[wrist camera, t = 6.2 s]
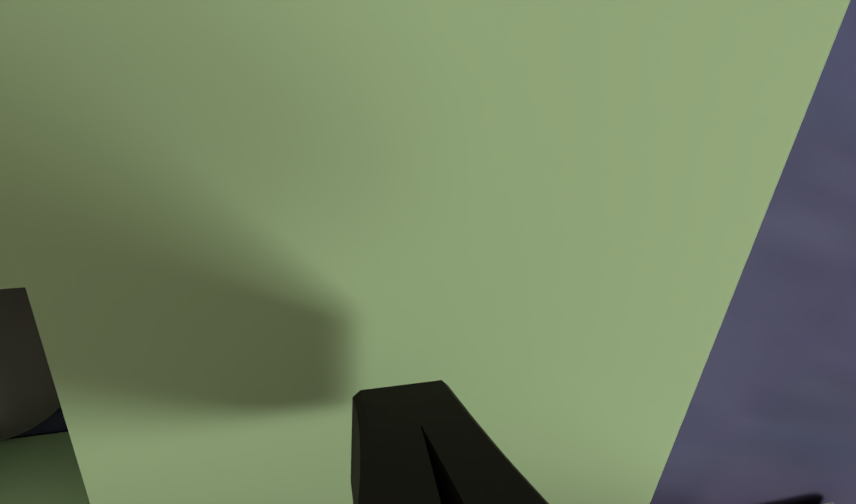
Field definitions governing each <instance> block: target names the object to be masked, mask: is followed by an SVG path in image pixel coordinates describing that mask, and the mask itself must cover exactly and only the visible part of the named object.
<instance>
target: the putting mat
mask: <svg viewBox="0 0 856 504" xmlns="http://www.w3.org/2000/svg"><path fill="white" fill-rule="evenodd" d="M849 2H850V0H0V504H353V497H352V489H351V439H352V397H353V396H354V395H355V394H357V393H358V392H359V391H360V390H365V389H374V388H382V387H390V386H398V385H406V384H414V383H422V382H430V381H438V380H442V381H443V382H445V383H446V384H447V385H448V386H449V387H450V389H451V390H452V391H453V392H454V394H455V395H456V396H457V398H458V399H459V400H460V401H461V403H462V404H463V405H464V406H465V408H466V409H467V410H468V411H469V413H470V414H471V415H472V416H473V418H474V419H475V420H476V421H477V423H478V424H479V425H480V426H481V427H482V429H483V430H484V431H485V432H486V433H487V435H488V436H489V437H490V438H491V439H492V441H493V442H494V443H495V444H496V445H497V447H498V448H499V449H500V450H501V451H502V452H503V454H504V455H505V456H506V457H507V458H508V459H509V460H510V462H511V463H512V464H513V465H514V466H515V467H516V468H517V469H518V470H519V472H520V473H521V474H522V475H523V476H524V477H525V478H526V479H527V480H528V481H529V482H530V484H531V485H532V486H533V487H534V488H535V489H536V490H537V491H538V492H539V493H540V494H541V496H542V497H543V498H544V499H545V500H546V501H547V502H548V503H549V504H650V502H651V499H652V497H653V494H654V492H655V489H656V487H657V484H658V482H659V479H660V477H661V474H662V472H663V469H664V467H665V464H666V462H667V459H668V457H669V454H670V452H671V449H672V447H673V444H674V441H675V439H676V436H677V434H678V431H679V429H680V426H681V424H682V421H683V419H684V416H685V414H686V411H687V409H688V406H689V404H690V401H691V399H692V396H693V394H694V391H695V389H696V386H697V384H698V381H699V379H700V376H701V374H702V371H703V369H704V366H705V364H706V361H707V359H708V356H709V354H710V351H711V349H712V346H713V344H714V341H715V339H716V336H717V334H718V331H719V329H720V326H721V324H722V321H723V319H724V316H725V314H726V311H727V309H728V306H729V303H730V301H731V298H732V296H733V293H734V291H735V288H736V286H737V283H738V281H739V278H740V276H741V273H742V271H743V268H744V266H745V263H746V261H747V258H748V256H749V253H750V251H751V248H752V246H753V243H754V241H755V238H756V236H757V233H758V231H759V228H760V226H761V223H762V221H763V218H764V216H765V213H766V211H767V208H768V206H769V203H770V201H771V198H772V196H773V193H774V191H775V188H776V186H777V183H778V181H779V178H780V176H781V173H782V170H783V168H784V165H785V163H786V160H787V158H788V155H789V153H790V150H791V148H792V145H793V143H794V140H795V138H796V135H797V133H798V130H799V128H800V125H801V123H802V120H803V118H804V115H805V113H806V110H807V108H808V105H809V103H810V100H811V98H812V95H813V93H814V90H815V88H816V85H817V83H818V80H819V78H820V75H821V73H822V70H823V68H824V65H825V63H826V60H827V58H828V55H829V53H830V50H831V48H832V45H833V43H834V40H835V37H836V35H837V32H838V30H839V27H840V25H841V22H842V20H843V17H844V15H845V12H846V10H847V7H848V5H849ZM60 406H61V408H62V412H63V415H64V418H65V422H66V425H67V428H68V432H62V433H54V434H46V435H38V436H30V437H22V438H14V439H9V438H12V437H15V436H17V435H20V434H22V433H24V432H26V431H28V430H30V429H32V428H34V427H35V426H37V425H38V424H40V423H41V422H43V421H45V420H46V419H47V418H48V417H50V416H51V415H52V414H53V413H54V412H56V411H57V410H58V409H59V407H60ZM6 439H7V440H6Z"/></svg>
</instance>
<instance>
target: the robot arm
mask: <svg viewBox="0 0 856 504" xmlns="http://www.w3.org/2000/svg"><path fill="white" fill-rule="evenodd" d="M351 489H352V497H353V504H549V503H548V502H547V501H546V500H545V499H544V498H543V497H542V496H541V494H540V493H539V492H538V491H537V490H536V489H535V488H534V487H533V486H532V485H531V484H530V482H529V481H528V480H527V479H526V478H525V477H524V476H523V475H522V474H521V473H520V472H519V470H518V469H517V468H516V467H515V466H514V465H513V464H512V463H511V462H510V460H509V459H508V458H507V457H506V456H505V455H504V454H503V452H502V451H501V450H500V449H499V448H498V447H497V445H496V444H495V443H494V442H493V441H492V439H491V438H490V437H489V436H488V435H487V433H486V432H485V431H484V430H483V429H482V427H481V426H480V425H479V424H478V423H477V421H476V420H475V419H474V418H473V416H472V415H471V414H470V413H469V411H468V410H467V409H466V408H465V406H464V405H463V404H462V403H461V401H460V400H459V399H458V398H457V396H456V395H455V394H454V392H453V391H452V390H451V389H450V387H449V386H448V385H447V384H446V383H445V382H443V381H442V380H438V381H430V382H422V383H414V384H406V385H398V386H390V387H382V388H374V389H365V390H360V391H359V392H358V393H357V394H355V395H354V396H353V397H352V439H351ZM822 504H834V503H831V502H827V503H822Z"/></svg>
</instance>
